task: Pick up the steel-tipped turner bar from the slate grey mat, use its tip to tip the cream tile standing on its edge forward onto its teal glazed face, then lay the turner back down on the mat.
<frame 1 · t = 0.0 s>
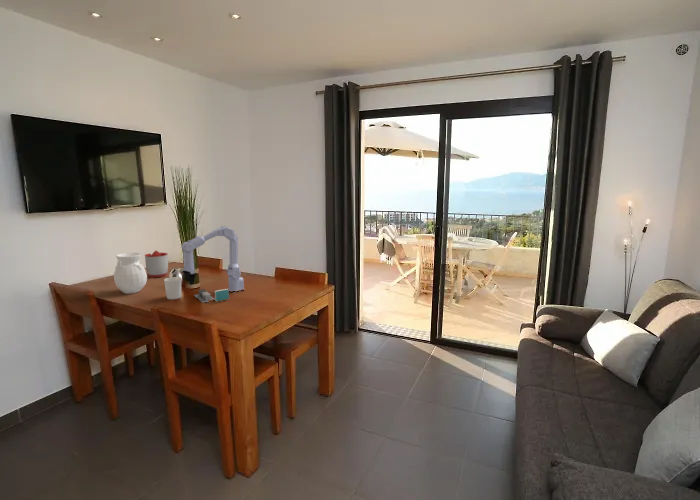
hand: (190, 282, 226), 10 cm above the table, tool pointing down, fingers open, 7 cm apart
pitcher: (132, 291, 239), on the table
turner: (204, 297, 228), resting on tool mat
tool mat: (204, 298, 228), on the table
tile: (222, 300, 224), on the table
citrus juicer: (157, 275, 280), on the table
candle holder: (174, 297, 229), on the table
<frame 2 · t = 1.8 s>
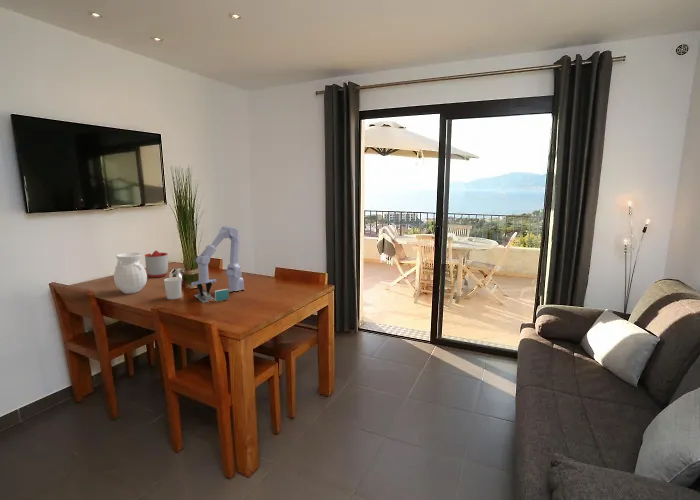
hand: (204, 295, 228), 2 cm above the table, tool pointing down, fingers closed on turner, 3 cm apart
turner: (204, 297, 228), resting on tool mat, touching gripper
everything else where it was.
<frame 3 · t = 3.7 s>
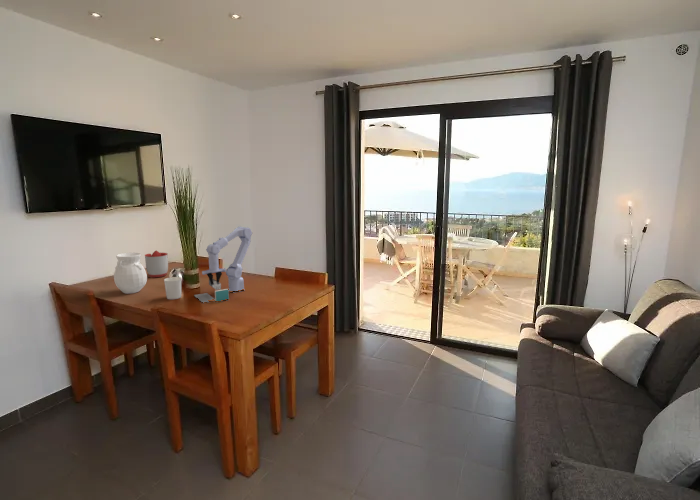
hand: (214, 283, 232), 8 cm above the table, tool pointing down, fingers closed on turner, 3 cm apart
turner: (214, 286, 232), point 6 cm above the table, touching gripper
everything else where it was.
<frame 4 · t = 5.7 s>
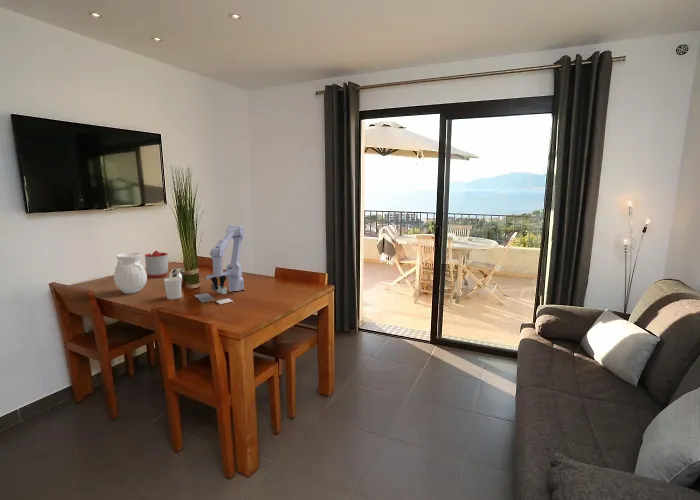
hand: (219, 288, 226), 7 cm above the table, tool pointing down, fingers closed on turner, 3 cm apart
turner: (219, 291, 227), point 5 cm above the table, touching gripper
tile: (222, 300, 223), on the table, tilted 90°
everything else where it was.
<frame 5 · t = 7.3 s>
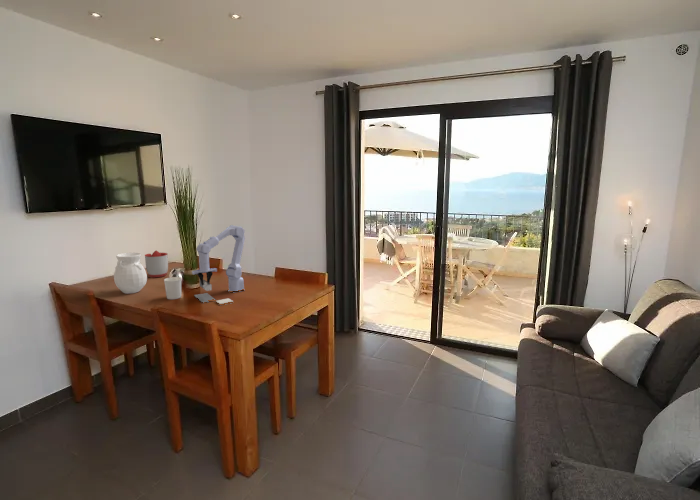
hand: (205, 284, 227), 9 cm above the table, tool pointing down, fingers closed on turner, 3 cm apart
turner: (205, 287, 227), point 7 cm above the table, touching gripper
everything else where it was.
when the fingers open (3 cm above the table, at t = 8.8 s): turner stays where it is, resting on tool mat.
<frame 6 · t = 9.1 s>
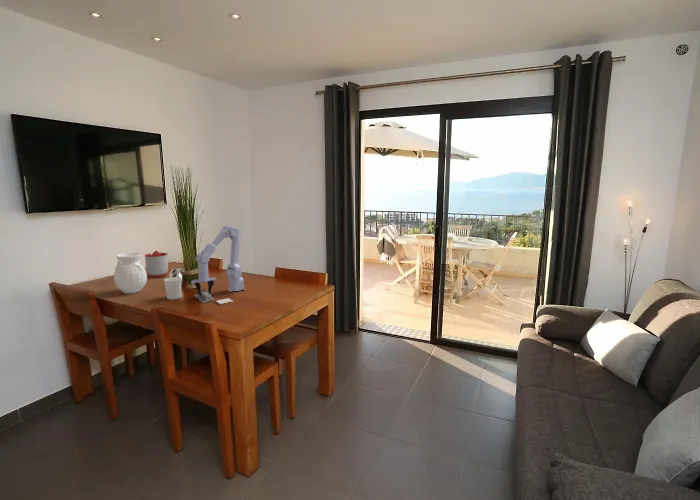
hand: (204, 293, 228), 3 cm above the table, tool pointing down, fingers open, 5 cm apart
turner: (204, 297, 228), resting on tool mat
everything else where it was.
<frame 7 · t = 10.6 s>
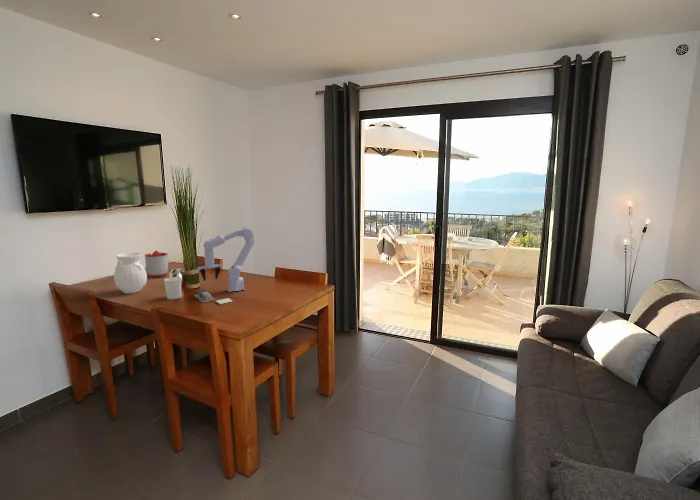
hand: (210, 279, 237), 9 cm above the table, tool pointing down, fingers open, 7 cm apart
nothing on the table moved.
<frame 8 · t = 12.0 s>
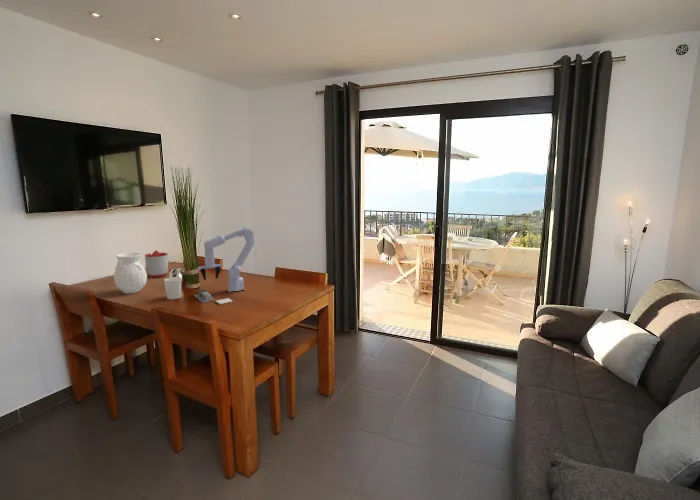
hand: (210, 279, 238), 9 cm above the table, tool pointing down, fingers open, 7 cm apart
nothing on the table moved.
at the end: tile tilted 90°; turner inside the target area (0.1 cm from its centre), point 0.5 cm above the table; the gripper is holding nothing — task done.
